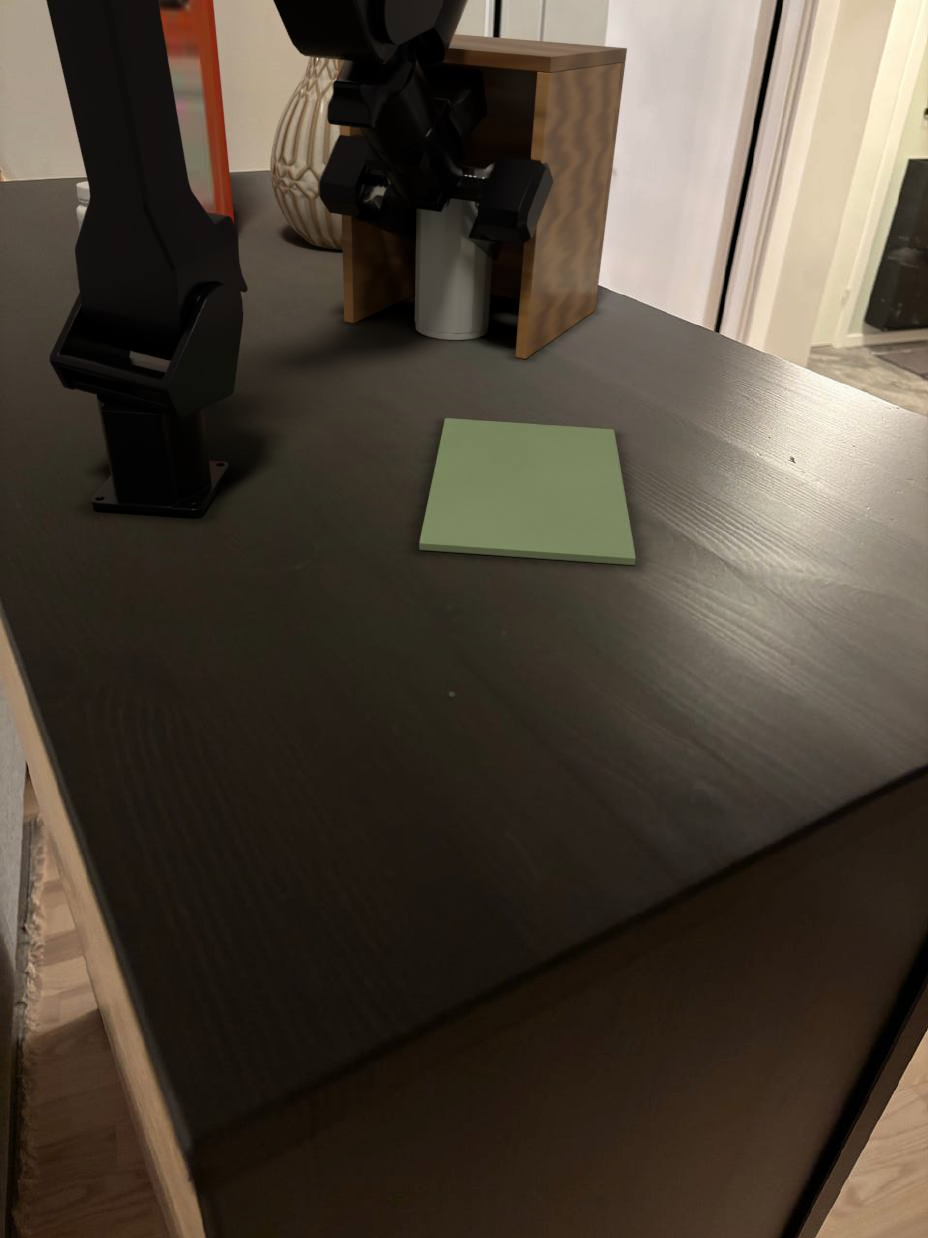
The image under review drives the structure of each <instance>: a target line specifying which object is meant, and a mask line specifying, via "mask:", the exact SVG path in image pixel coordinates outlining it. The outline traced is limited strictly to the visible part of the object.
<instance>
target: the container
mask: <svg viewBox="0 0 928 1238" xmlns="http://www.w3.org/2000/svg"><path fill="white" fill-rule="evenodd" d="M463 167H469V168H476V169H485V168H480V167H472V166H463ZM474 203H475V202H472V201H465V200H458V199H451V200H450V203H449V205H448V206H447V207H443V210H442V212H436V211H430V210H423V209H417V213H416V276H415V294H414V328H415V330H416V331H417V332H418V333H420V334H421V335H422V336H426V337H429V338H433V339H438V340H446V341H467V340H474V339H478V338H481V337H483V336H485V335H486V334H487V333H489V325H490V324H489V323H490V309H491V294H490V293H491V276H492V260H493V259H491V258H490V257H488V256H487V255H486V254H485V253H484V252H483V251H482V250H481V249H480V248H479V247H478V246H477V245H476V244H475V243H473V242H472V241H471V240H470V239H469V234H470V232H471V229H472V227H473V224H474V222H475V219H476V217H477V213H478V210H476V208H475V205H474Z"/></svg>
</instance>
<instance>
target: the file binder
mask: <svg viewBox="0 0 928 1238" xmlns="http://www.w3.org/2000/svg"><path fill="white" fill-rule="evenodd" d="M158 1H159V7H160V13H161V19H162V25H163V31H164V37H165V43H166V49H167V55H168V61H169V67H170V73H171V79H172V85H173V91H174V97H175V103H176V109H177V115H178V121H179V127H180V133H181V139H182V145H183V151H184V157H185V163H186V169H187V175H188V180H189V184H190V187H191V190H192V192H193V193H194V195H195V196H196V198H197V199H198V201H199V202H200V204H201V205H202V206H203V208H204V209H205V211H206V212H209V213H215V214H221V215H226V216H230V217H231V218H232V220H233V222H234V223H235V217H234V216H235V215H234V205H233V195H232V184H231V175H230V174H231V173H230V164H229V151H228V143H227V131H226V123H225V122H226V121H225V110H224V102H223V101H224V100H223V90H222V89H223V88H222V79H221V69H220V58H219V47H218V37H217V27H216V16H215V7H214V6H215V5H214V0H158Z"/></svg>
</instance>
